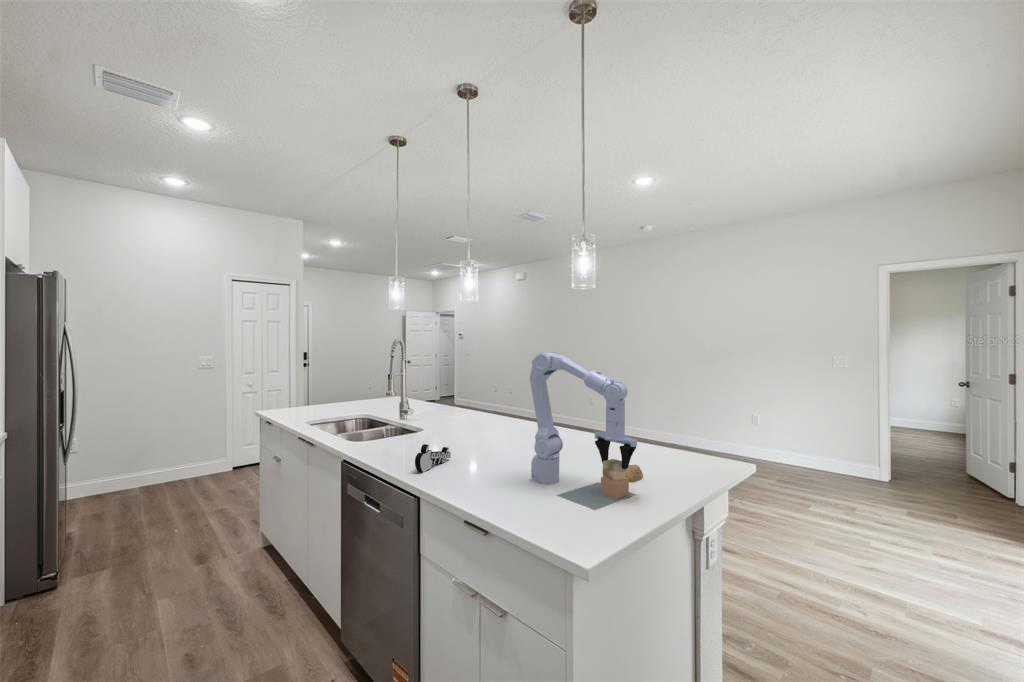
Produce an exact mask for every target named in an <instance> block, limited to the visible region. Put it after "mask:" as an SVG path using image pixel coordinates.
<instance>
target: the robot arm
mask: <svg viewBox="0 0 1024 682" xmlns="http://www.w3.org/2000/svg"><path fill="white" fill-rule="evenodd" d="M531 364H532V366H531V370H530V374H529V383H530V389H531V394H532V400H533V406H534V411H535V420H536V423H537V424H536V426H537V431H536V432H535V436H534V440H535V441H534V442H535V443H534V446H533V447H534V452H535V455H534V456H533V457H532V459H531V465H530V466H531V469H530V470H531V471H530V473H531V475H530V479H529V481H537V482H538V483H540V484H544V485H556V484H558V483H560V452H561V451H562V449H563V446H564V442H563V439H562V438H561V436H560V435H559V430H558V429H557V428H556V427H555V426H554V419H553V414H552V407H551V402H550V396H549V391H548V385H547V381H548V379H549V378H550V376H551V375H552V374H553V373H555V372H556V371H558V370H560V371H561V370H562V371H565V372H567V373H569V374H570V375H573V376H575V377H576V378H578V379H581V380H583V382H584V385H585V386H586V387H587V388H589V389H590V390H592V391H594V392H595V393H598V394H600V395H601V396H603V398H604V400H605V404H606V405H605V432H602V431H596V432H594V439H596V440H595V441H594V443H595V445H596V448H597V450H598V453H599V455H600V461H601V463H602V464H603V461H606V460H609V453H610V452H609V451H610V445H611V442H612V443H617V444H621V445H620V446H619V451H620V455H621V461H622V469H627V468H628V466H629V465H630V463H631V459H632V456H633V454H634V453H635V451H636V449H637V447H638V439H636V438H632V437H629V436H627V435H625V433H626V432H625V430H626V425H625V424H626V404H625V403H626V398H627V396H628V388H627V386H626V385H625V383H622V382H621V381H615V378H613V377H612V378H609V377H608V376H606V375H603V374H602V371H601V370H599V369H598V370H594V369H593V370H590V371H589V370H588V369H585V368H584V367H582V366H581V365H579V364H577V363H576V362H575V361H572V360H571V359H570V358H568V357H566V356H565V355H563V354H559V353H558V352H555V351H554V352H539V353H537V354H536V355H535V356H534V357H533V359H531Z"/></svg>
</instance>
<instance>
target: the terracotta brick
mask: <svg viewBox="0 0 1024 682" xmlns="http://www.w3.org/2000/svg"><path fill="white" fill-rule="evenodd" d="M600 483H601V494H604V495H607V496H610V497H613V498H616V499H618V498H621V497H623V496H626V495H629V492H630V491H629V489H630V482H629V478H626V479H623V480H619V481H612V480H609V479H606V478H603V476H601V477H600Z"/></svg>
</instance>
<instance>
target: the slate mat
mask: <svg viewBox="0 0 1024 682" xmlns="http://www.w3.org/2000/svg"><path fill="white" fill-rule="evenodd" d="M634 496H637V493H633V492H630V491H629V495H626V496H623V497H621V498H618V499H616V498H613V497H610V496H607V495H604V494H601V482H598V481H597V482H595V483H591V484H588V485H585V486H582V487H578V488H575V489H573V490H569V491H566V492H561V493H559V494H556V497H560V498H561V499H565V500H567V501H570V502H572V503H575V504H578V505H580V506H583V507H586V508H588V509H591V510H593V511H597V510H600V509H601V508H605V507H606V506H610V505H613V504H615V503H618V502H621V501H623V500H626V499H629V498H631V497H634Z"/></svg>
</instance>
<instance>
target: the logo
mask: <svg viewBox="0 0 1024 682" xmlns="http://www.w3.org/2000/svg"><path fill="white" fill-rule="evenodd" d="M429 448H430V444H425V443H423V444H422V445H421V448H420V452H418V453H416V454H415V459H414V466H415V469H416V471H417V472H418V473H422V472H424V473H426V472H427V471H429V469H430V470H431V469H432V465H436V464H437V465H438V464H445V463H447V459H451V458H452V456H451V455H452V452H451V451H449V449H450V448H449V447H446V446H443V447H442V449H441V451H438V450H437V451H435V450H434V451H432V450H431V449H429ZM444 462H445V463H444ZM425 471H426V472H425Z"/></svg>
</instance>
